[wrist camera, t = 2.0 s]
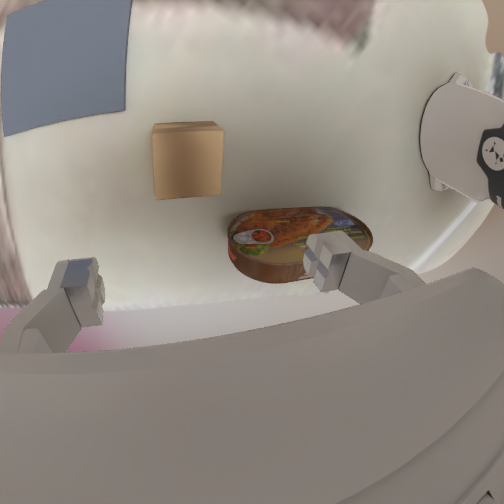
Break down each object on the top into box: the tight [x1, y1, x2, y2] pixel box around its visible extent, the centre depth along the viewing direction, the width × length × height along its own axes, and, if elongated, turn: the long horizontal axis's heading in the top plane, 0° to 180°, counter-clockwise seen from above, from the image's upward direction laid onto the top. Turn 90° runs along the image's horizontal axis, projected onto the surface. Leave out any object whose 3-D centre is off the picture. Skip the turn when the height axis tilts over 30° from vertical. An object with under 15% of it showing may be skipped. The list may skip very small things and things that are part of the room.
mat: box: [1, 0, 132, 137], centre depth 13 cm, size 12×12×1 cm
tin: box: [227, 207, 373, 283], centre depth 27 cm, size 15×3×8 cm, turn 85°
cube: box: [152, 121, 224, 200], centre depth 21 cm, size 5×5×5 cm
